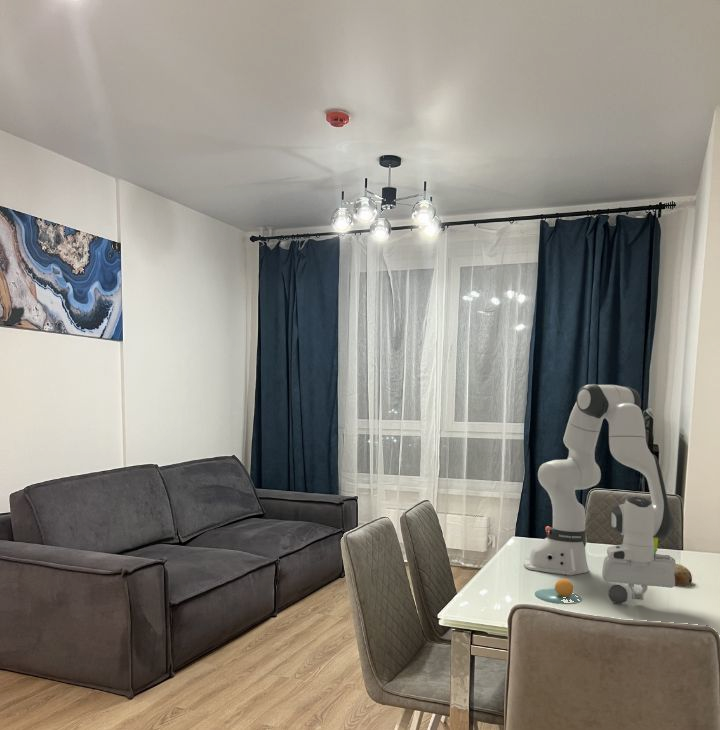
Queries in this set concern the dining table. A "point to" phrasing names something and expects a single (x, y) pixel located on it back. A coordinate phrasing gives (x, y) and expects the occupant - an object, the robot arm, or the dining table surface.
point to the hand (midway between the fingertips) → (637, 598)
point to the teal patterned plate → (555, 596)
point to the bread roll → (682, 576)
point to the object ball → (564, 588)
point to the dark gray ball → (618, 594)
